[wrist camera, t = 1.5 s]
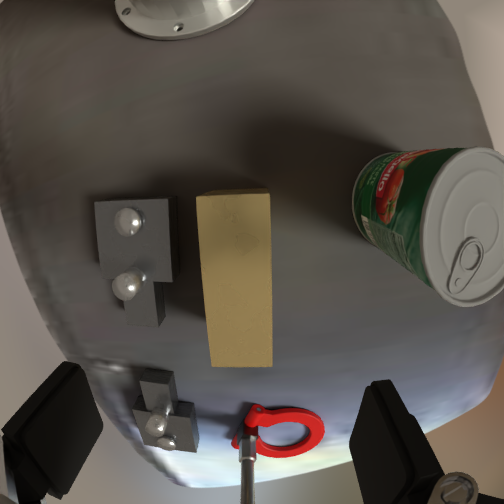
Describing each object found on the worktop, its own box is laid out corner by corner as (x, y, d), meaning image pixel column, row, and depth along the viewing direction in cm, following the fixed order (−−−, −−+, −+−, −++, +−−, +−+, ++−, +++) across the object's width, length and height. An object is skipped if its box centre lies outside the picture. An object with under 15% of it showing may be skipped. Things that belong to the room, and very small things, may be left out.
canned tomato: (375, 133, 20) (459, 111, 10) (449, 183, 21) (543, 199, 10) (333, 225, 22) (392, 272, 12) (410, 266, 23) (488, 325, 12)
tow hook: (336, 411, 28) (254, 395, 27) (367, 511, 15) (257, 512, 14) (301, 454, 30) (228, 442, 29) (316, 543, 17) (222, 539, 16)
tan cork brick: (213, 190, 22) (196, 196, 16) (267, 187, 22) (269, 193, 16) (222, 324, 25) (211, 366, 19) (270, 323, 25) (272, 366, 19)
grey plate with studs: (107, 198, 22) (78, 205, 18) (176, 196, 22) (157, 202, 18) (149, 431, 29) (139, 458, 25) (199, 438, 29) (193, 467, 24)
